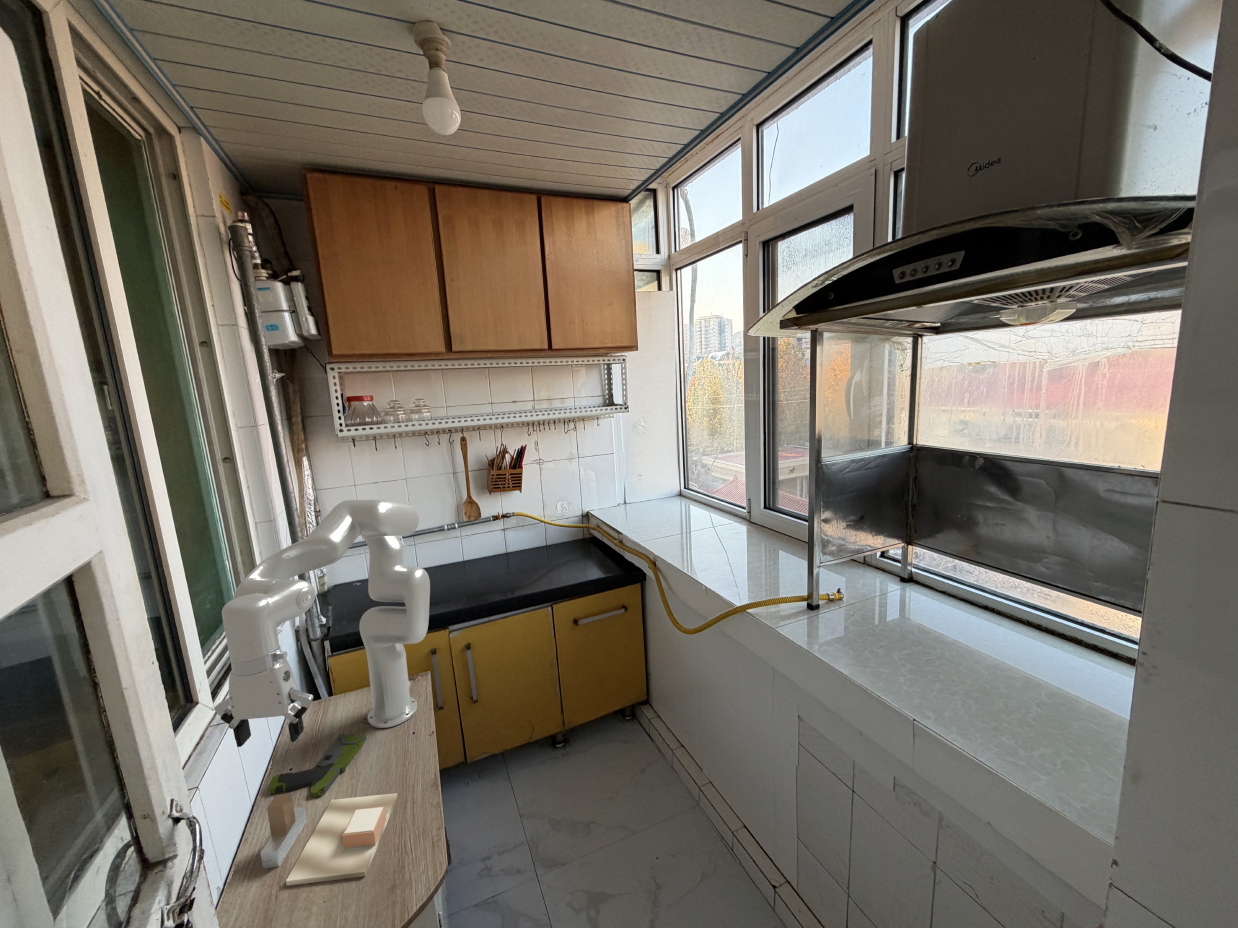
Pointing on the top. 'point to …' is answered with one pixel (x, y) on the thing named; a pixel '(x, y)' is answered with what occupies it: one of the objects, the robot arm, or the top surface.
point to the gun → (321, 768)
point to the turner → (282, 829)
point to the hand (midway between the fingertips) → (270, 738)
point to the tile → (364, 827)
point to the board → (338, 843)
